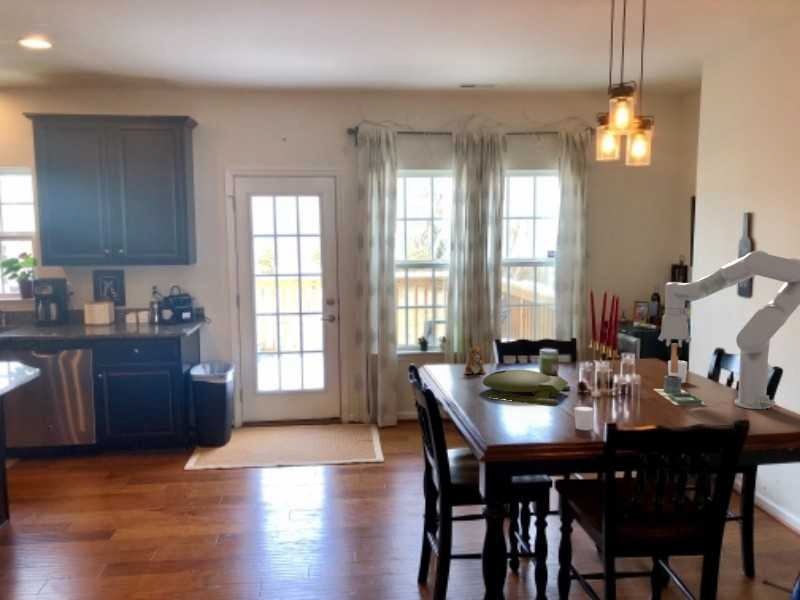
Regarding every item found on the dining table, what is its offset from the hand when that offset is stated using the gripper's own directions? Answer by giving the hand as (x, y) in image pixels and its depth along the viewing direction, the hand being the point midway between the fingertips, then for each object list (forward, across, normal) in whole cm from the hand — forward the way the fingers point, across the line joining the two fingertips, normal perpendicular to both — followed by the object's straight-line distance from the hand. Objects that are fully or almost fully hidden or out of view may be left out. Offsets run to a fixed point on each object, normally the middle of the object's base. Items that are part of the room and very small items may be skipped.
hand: (674, 355), depth 266 cm
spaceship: (+16, +56, +29) cm, 65 cm away
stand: (+17, -3, +6) cm, 18 cm away
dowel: (+7, 0, 0) cm, 7 cm away
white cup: (+17, +3, -23) cm, 28 cm away
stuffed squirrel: (+15, +93, +1) cm, 94 cm away
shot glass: (+17, +18, +64) cm, 69 cm away
